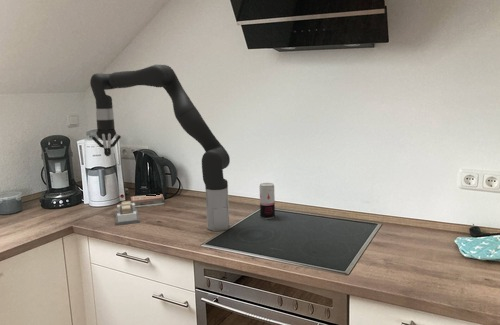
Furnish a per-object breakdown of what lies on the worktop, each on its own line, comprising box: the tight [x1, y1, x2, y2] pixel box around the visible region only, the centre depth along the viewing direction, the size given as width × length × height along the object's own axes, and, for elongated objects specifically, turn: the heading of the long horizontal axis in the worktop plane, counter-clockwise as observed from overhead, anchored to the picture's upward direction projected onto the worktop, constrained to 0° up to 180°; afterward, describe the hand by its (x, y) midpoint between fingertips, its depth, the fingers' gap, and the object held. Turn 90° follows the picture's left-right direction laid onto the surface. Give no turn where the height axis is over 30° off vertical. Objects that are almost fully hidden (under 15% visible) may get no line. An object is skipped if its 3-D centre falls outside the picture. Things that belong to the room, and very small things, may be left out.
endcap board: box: [115, 203, 140, 226], centre depth 184 cm, size 19×10×4 cm, turn 18°
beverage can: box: [259, 182, 276, 220], centre depth 178 cm, size 7×7×15 cm
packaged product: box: [129, 193, 165, 209], centre depth 205 cm, size 18×5×10 cm
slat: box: [121, 200, 131, 214], centre depth 184 cm, size 14×4×5 cm, turn 18°
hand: (107, 155), depth 185 cm, fingers closed
